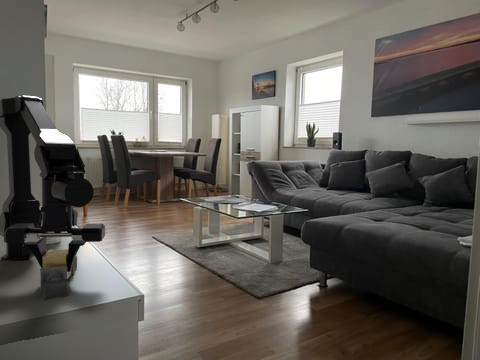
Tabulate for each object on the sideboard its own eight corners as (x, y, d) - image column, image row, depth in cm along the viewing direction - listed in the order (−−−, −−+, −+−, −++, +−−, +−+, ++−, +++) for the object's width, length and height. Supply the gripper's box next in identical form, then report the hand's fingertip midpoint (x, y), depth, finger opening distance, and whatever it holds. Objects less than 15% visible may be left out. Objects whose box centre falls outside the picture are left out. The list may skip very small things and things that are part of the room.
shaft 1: (40, 289, 74) (40, 268, 73) (66, 285, 76) (66, 265, 76) (42, 299, 69) (41, 277, 69) (69, 295, 72) (69, 273, 71)
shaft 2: (57, 267, 86) (57, 249, 86) (78, 267, 87) (78, 249, 87) (50, 276, 81) (50, 256, 81) (73, 275, 82) (73, 256, 82)
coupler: (42, 281, 76) (42, 256, 75) (49, 274, 80) (49, 249, 79) (66, 281, 76) (65, 255, 76) (71, 273, 81) (71, 249, 80)
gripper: (109, 195, 86) (108, 258, 88) (23, 193, 82) (24, 260, 84) (101, 203, 75) (100, 275, 77) (1, 202, 72) (3, 278, 73)
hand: (57, 271), depth 78 cm, fingers closed on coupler, 4 cm apart
